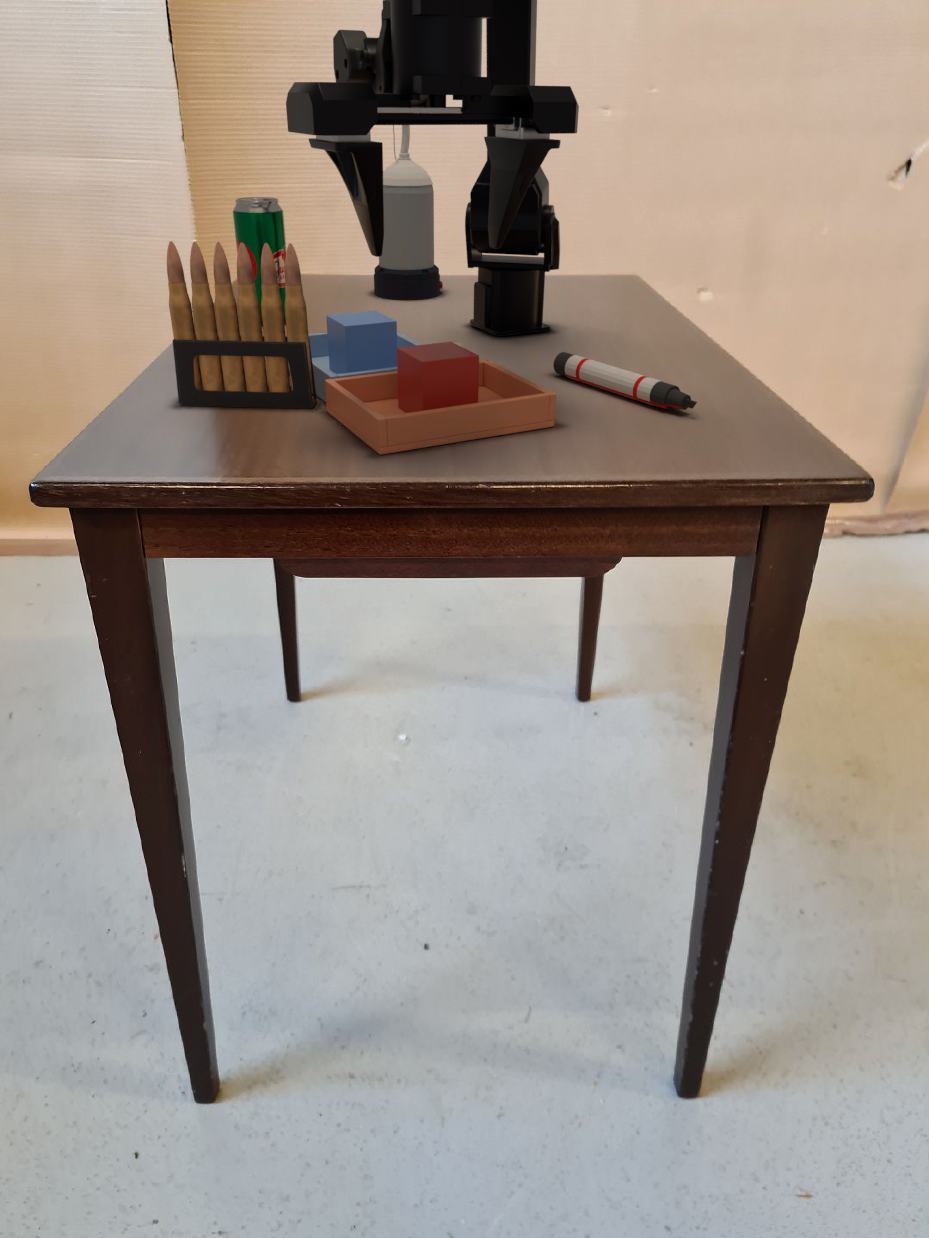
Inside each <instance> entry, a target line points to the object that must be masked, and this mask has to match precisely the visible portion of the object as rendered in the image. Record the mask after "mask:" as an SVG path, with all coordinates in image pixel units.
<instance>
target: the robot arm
mask: <svg viewBox="0 0 929 1238" xmlns="http://www.w3.org/2000/svg"><path fill="white" fill-rule="evenodd" d="M380 14H381V15H380V19H381V26H380V31H379V35H378V37H369V36H367V33H366V32H365V31H364V30H356V29H339V30H337V31H336V33H335V34H334V36H333V38H332V43H333V44H332V52H333V53H332V54H333V58H332V59H333V71H334V78H335V81H334V82H333V81H294V82H293V84H292V85H291V87H290V88H289V90H288V92H287V96H286V101H285V111H286V123H287V132H288V133H294V134H301V135H309V136H315V137H313V138H308V142H309V145H310V149H311V148H312V149H316V150H317V149H318V150H321V151H325V153H326V154H327V156H328V157H329V159H330V160H331V161H332V163H333V164H334V166H335V167H336V169H337V171H338V173H339V175H340V177H341V179H342V181H343V183H344V185H345V187H346V189H347V192H348V194H349V198H350V200H351V202H352V205H353V208H354V211H355V213H356V216H357V219H358V222H359V225H360V228H361V230H362V234H363V237H364V238H365V241H366V244H367V247H368V250H369V253H370V255H372V256H373V257H376V258H379V257H380V256H382V250H383V240H384V200H383V171H384V151H383V142H381V141H374V140H371V139H372V138H371V130H372V129H373V128H374V126H393V125H394V126H402V125H410V126H480V125H481V126H486V136H484V137H483V140H484V143H485V146H486V162H485V164H483V167H482V169H481V171H480V173H479V174H478V176H477V178H476V180H475V182H474V184H473V185H472V187H471V190H470V193H469V198H470V201H469V202H468V203H467V205H466V209H465V217H464V233H465V248H466V250H465V251H466V262H467V269H474V268H477V281H475V282H474V284H473V318H472V319H469V325H471V326H473V327H476V328H478V329H480V330H482V331H485V332H487V333H489V334H492V335H493V336H496V337H505V336H506V337H507V336H514V335H523V334H531V333H532V334H533V333H542V332H549V331H551V325H550V324H547V323H545V322H544V321H543V320H544V305H545V304H544V301H545V285H546V284H545V283H546V281H545V280H546V273H550V271H554V270H555V271H556V270H560V261H561V234H560V233H561V231H560V229H561V228H560V227H561V226H560V221H559V219H558V218H557V217H556V212H555V206H554V204H550V182H549V179H548V177H547V175H546V174H545V172H544V169H543V168H542V164H543V162H544V161H545V159H546V157H547V155H548V153H549V152H550V151H551V150H557V149H560V147H561V142H562V141H561V139H553V138H551V135H554V134H555V135H557V134H562V135H564V134H568V135H569V134H577V133H578V125H579V109H580V106H579V103H578V101H577V98H576V96H575V93H574V91H573V88H572V86H570V85H536V68H537V67H536V66H537V65H536V63H537V25H538V24H537V22H538V21H537V20H538V19H537V18H538V0H382V9H381V12H380ZM483 20H485V25H486V28H485V30H486V31H485V32H486V33H485V34H486V35H485V36H486V37H485V38H486V40H485V45H486V49H485V50H486V76H482V62H483V61H482V60H483V55H482V54H483ZM447 96H452V101H461V106H447ZM540 254H543V256H539V255H540Z"/></svg>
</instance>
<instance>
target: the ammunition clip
mask: <svg viewBox="0 0 929 1238" xmlns="http://www.w3.org/2000/svg"><path fill="white" fill-rule="evenodd" d="M286 250H287V251H286V258H285V293H286V297H285V318H286V322H285V323H284V314H283V304H282V301H281V297H280V293H279V285H278V280H277V271H276V266H275V261H274V258H273V255H272V252H271V249H270V247H269V245H268V244H267V243H265V244H264V246H263V250H262V256H261V281H262V284H261V287H262V300H261V312H262V322H263V325H261V316H260V306H259V302H258V298H257V295H256V289H255V283H254V277H253V270H252V265H251V261H250V257H249V254H248V251H247V249H246V247H245V245H244V243H242V242H241V243H240V245H239V249H238V255H237V254H236V255H237V256H236V278H237V301H236V297H235V294H234V290H233V283H232V278H231V271H230V266H229V263H228V258H227V256H226V255H227V254H226V253H225V249H224V247H223V245H222V244H221V242H219V241H217V242H216V243H215V247H214V251H213V265H212V266H213V279H214V280H213V281H214V283H213V284H214V300H213V297H212V294H211V287H210V283H209V280H208V272H207V267H206V263H205V259H204V256H203V253H202V251H201V249H200V246H199V244H198V243H197V242H196V241H193V242H192V244H191V248H190V254H189V255H190V256H189V267H190V268H189V270H190V272H189V273H190V281H191V283H190V284H191V285H190V286H191V292H192V293H191V299H190V296H189V292H188V287H187V282H186V277H185V271H184V268H183V263H182V260H181V256H180V254H179V251H178V248H177V247H176V245H175V243H174V241H172V240H170V241H169V242H168V245H167V251H166V274H167V280H168V282H167V284H168V285H167V286H168V295H169V296H168V308H169V313H170V322H171V328H172V336H173V339H172V347H173V348H172V349H173V360H174V369H175V380H176V388H177V389H176V390H177V396H178V397H177V399H178V404H179V405H180V406H182V407H183V406H184V407H185V406H186V407H222V408H223V407H224V408H225V407H228V408H229V407H231V408H268V409H269V408H271V409H272V408H274V409H313V408H314V407H315V405H316V403H317V401H318V398H317V397H318V396H317V395H316V388H315V380H314V372H313V364H312V356H311V348H310V340H309V335H308V334H309V323H308V313H307V311H308V310H307V305H306V304H307V303H306V300H305V296H304V290H303V284H302V273H301V267H300V263H299V258H298V255H297V252H296V249H295V247H294V245H293V244H292V243H291V242H290V243H288V245H287V246H286ZM286 336H287V337H286ZM288 362H289V367H290V374H289V367H288Z"/></svg>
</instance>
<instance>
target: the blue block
mask: <svg viewBox="0 0 929 1238" xmlns="http://www.w3.org/2000/svg"><path fill="white" fill-rule="evenodd" d="M325 318H326V319H325V320H326V332H327V336H328V352H329V367H330V369H331V370H332V371H334V372H335V373H336V374H342V373H351V372H359V371H367V370H375V369H383V368H392V367H397V332H398V325H397V323H398V321H397V320H395V319H394V318H391V317H389V316H387V315H385V314H384V313H382V312H380V311H378V310H366V311H365V310H364V311H354V312H343V313H333V314H326V315H325Z"/></svg>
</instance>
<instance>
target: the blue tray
mask: <svg viewBox="0 0 929 1238" xmlns="http://www.w3.org/2000/svg"><path fill="white" fill-rule="evenodd" d="M308 335H309V340H310V348H311V356H312V364H313V372H314V380H315V388H316V396H317V397H318V398H320V400H322V401H323V402H325V403H326V392H325V380H327V379H335V378H343V377H351V376H359V375H368V374H376V373H384V372H392V371H397V367H392V368H383V369H375V370H367V371H359V372H351V373H342V374H336V373H335V372H334V371H332V370H331V369H330V367H329V352H328V336H327V331H326V332H315V333H308ZM286 337H287V335H286ZM417 345H423V344H422V343H420V342H418V341H416V340H414V339H412V338H410V337H408V336H407V335H405V334H403V333H401V332H399V331H397V348H399V347H408V346H417ZM288 367H289V362H288ZM289 375H290V367H289Z"/></svg>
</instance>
